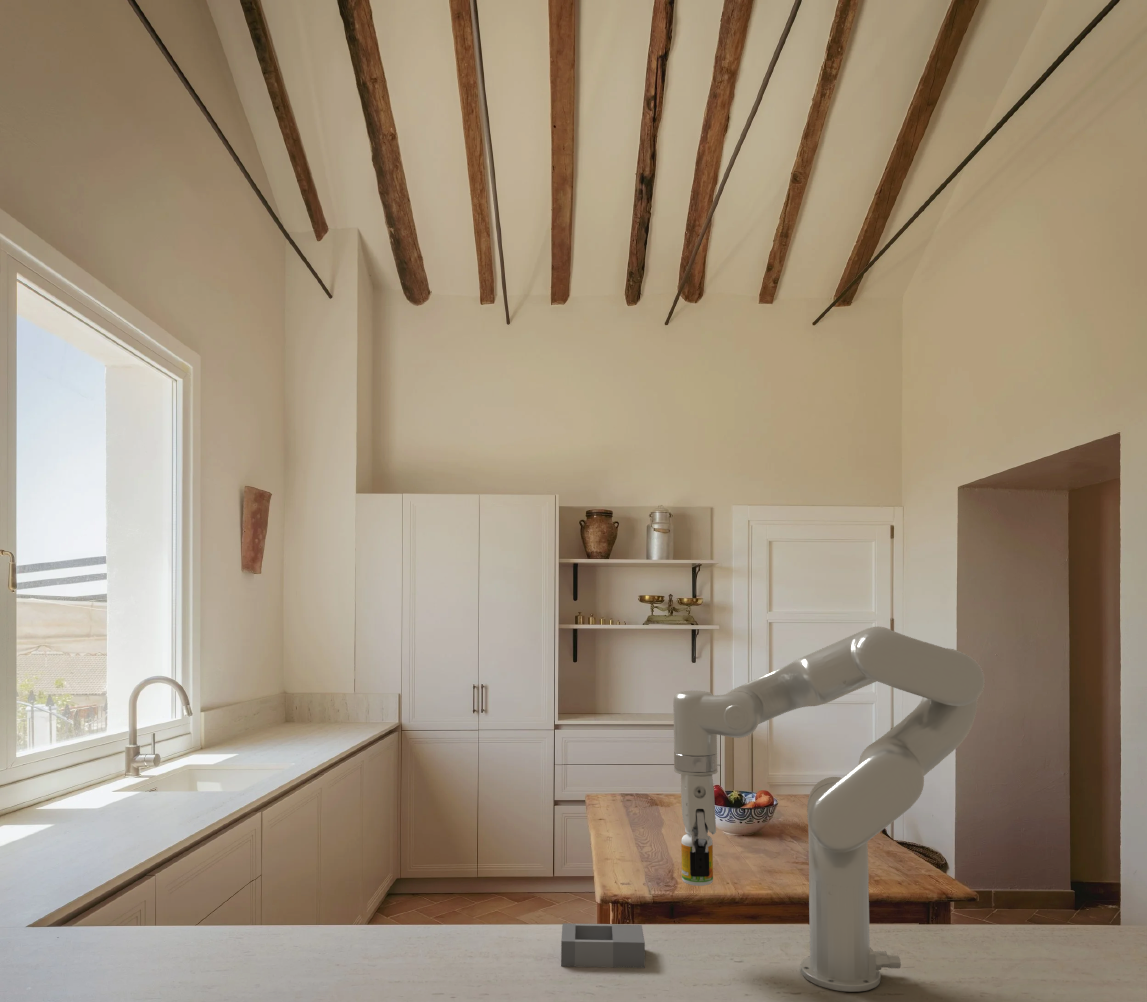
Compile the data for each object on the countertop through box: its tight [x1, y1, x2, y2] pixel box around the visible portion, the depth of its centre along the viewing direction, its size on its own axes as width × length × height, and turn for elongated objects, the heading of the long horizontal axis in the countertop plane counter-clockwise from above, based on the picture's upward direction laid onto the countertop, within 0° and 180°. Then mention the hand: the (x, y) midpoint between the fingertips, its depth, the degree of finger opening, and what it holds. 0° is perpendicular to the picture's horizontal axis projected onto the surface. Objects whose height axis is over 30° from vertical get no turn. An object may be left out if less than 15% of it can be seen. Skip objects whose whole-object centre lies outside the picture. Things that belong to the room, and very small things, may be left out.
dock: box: [560, 923, 646, 969], centre depth 153 cm, size 14×8×4 cm, turn 89°
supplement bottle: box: [680, 827, 714, 887], centre depth 154 cm, size 5×5×10 cm
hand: (697, 869), depth 154 cm, fingers closed on supplement bottle, 5 cm apart
